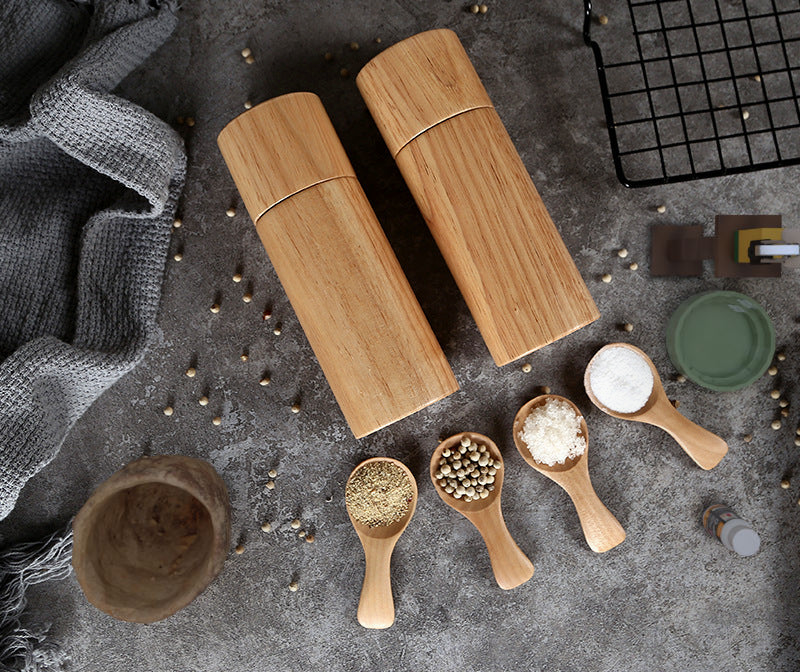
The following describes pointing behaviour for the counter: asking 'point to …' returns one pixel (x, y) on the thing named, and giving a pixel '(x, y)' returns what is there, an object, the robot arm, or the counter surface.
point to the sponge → (745, 236)
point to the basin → (720, 340)
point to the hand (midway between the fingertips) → (789, 253)
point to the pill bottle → (731, 530)
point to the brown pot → (152, 537)
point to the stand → (708, 248)
